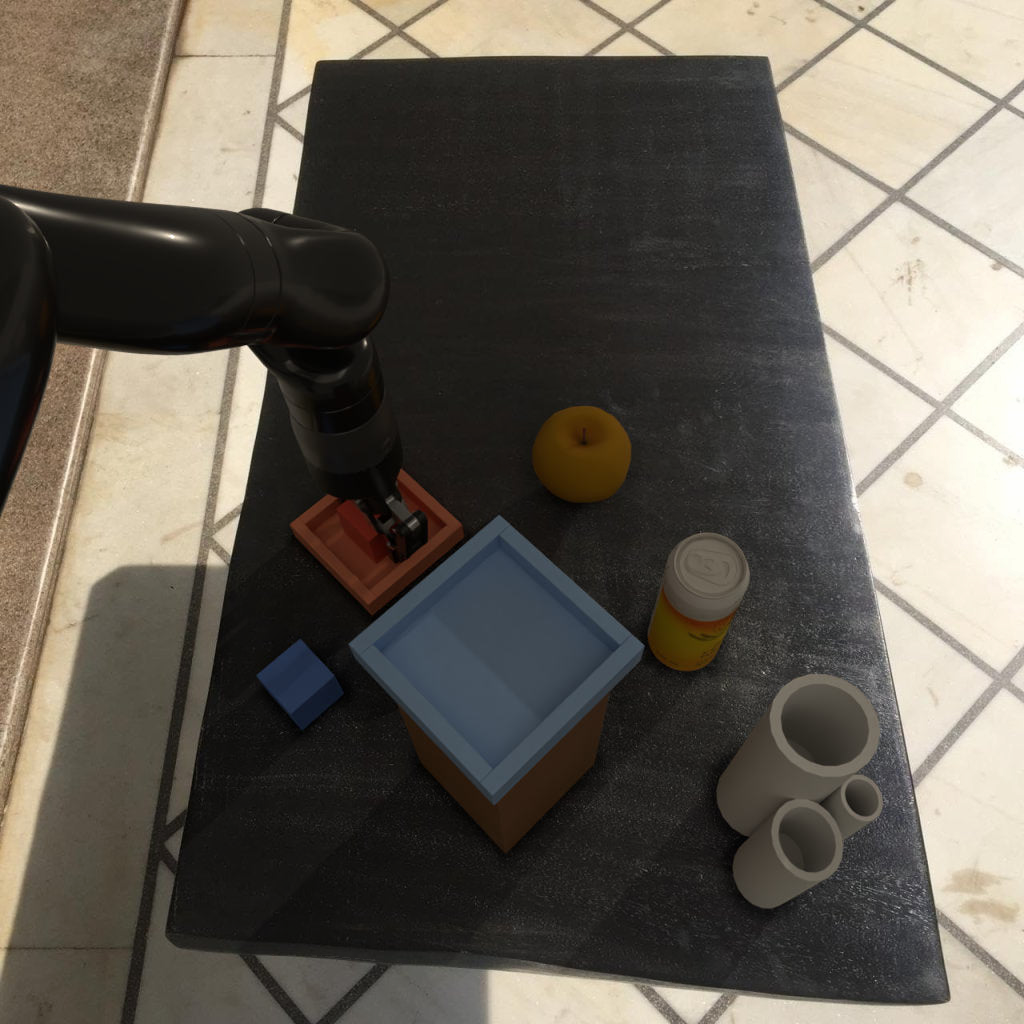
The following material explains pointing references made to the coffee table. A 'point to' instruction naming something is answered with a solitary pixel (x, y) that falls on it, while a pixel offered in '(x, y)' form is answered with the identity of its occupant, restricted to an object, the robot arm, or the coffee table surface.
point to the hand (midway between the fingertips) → (378, 531)
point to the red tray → (355, 567)
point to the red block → (362, 531)
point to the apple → (582, 454)
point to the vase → (800, 787)
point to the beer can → (697, 600)
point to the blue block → (300, 684)
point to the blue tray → (500, 677)
